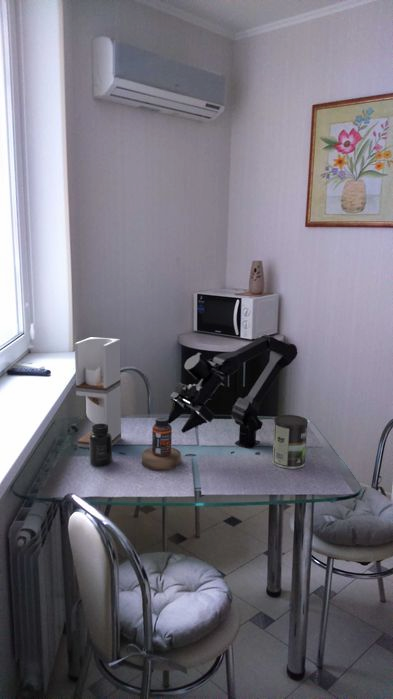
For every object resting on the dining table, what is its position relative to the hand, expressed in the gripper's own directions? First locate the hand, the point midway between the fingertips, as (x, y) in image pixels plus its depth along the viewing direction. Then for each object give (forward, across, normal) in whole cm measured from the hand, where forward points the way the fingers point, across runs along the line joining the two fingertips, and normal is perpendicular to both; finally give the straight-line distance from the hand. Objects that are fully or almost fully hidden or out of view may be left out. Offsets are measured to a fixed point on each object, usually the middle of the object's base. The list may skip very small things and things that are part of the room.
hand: (175, 427), depth 170 cm
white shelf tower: (+19, -25, -3) cm, 31 cm away
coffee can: (-13, +19, +30) cm, 38 cm away
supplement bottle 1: (+23, -9, -7) cm, 25 cm away
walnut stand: (+11, 0, +4) cm, 12 cm away
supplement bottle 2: (+9, 0, +2) cm, 9 cm away
